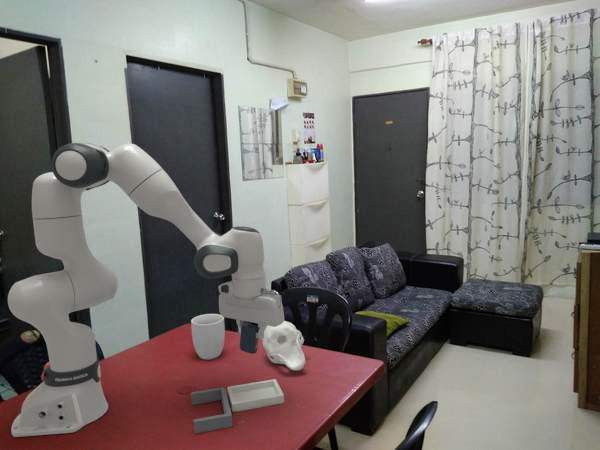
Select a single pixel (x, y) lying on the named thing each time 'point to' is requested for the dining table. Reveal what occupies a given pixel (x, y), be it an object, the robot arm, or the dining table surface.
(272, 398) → the tray
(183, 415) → the dining table surface
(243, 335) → the vaping device
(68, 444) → the dining table surface
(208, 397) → the bay
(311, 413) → the dining table surface
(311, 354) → the dining table surface
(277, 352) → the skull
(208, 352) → the mug
